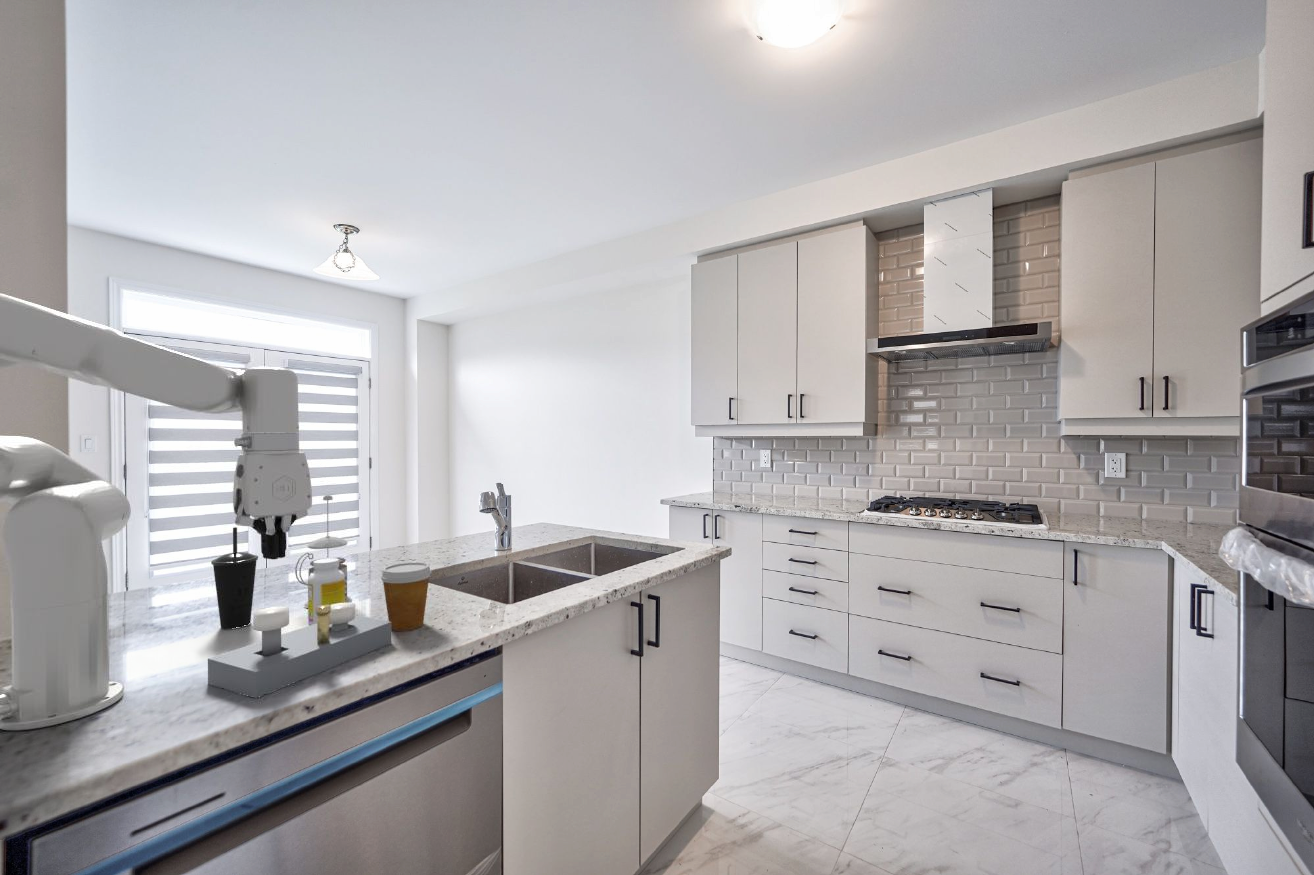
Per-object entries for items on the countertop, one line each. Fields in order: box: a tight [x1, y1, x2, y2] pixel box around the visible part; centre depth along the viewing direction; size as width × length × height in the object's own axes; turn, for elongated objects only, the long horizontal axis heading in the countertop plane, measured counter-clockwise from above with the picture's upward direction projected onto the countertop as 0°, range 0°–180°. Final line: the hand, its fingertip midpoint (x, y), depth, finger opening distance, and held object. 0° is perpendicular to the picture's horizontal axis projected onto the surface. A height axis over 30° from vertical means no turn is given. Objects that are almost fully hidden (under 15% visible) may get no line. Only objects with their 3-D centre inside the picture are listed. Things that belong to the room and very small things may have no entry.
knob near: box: [252, 606, 290, 656], centre depth 91 cm, size 5×5×7 cm
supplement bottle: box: [307, 557, 345, 626], centre depth 117 cm, size 7×7×13 cm
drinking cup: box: [211, 526, 259, 630], centre depth 114 cm, size 8×8×20 cm
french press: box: [294, 494, 353, 609], centre depth 129 cm, size 10×12×25 cm
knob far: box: [329, 602, 356, 632], centre depth 102 cm, size 5×5×7 cm
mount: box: [207, 614, 392, 699], centre depth 96 cm, size 24×12×4 cm, turn 156°
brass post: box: [316, 605, 331, 644], centre depth 95 cm, size 2×2×6 cm
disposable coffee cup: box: [379, 561, 432, 632], centre depth 114 cm, size 10×10×12 cm
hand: (274, 557), depth 91 cm, fingers closed
